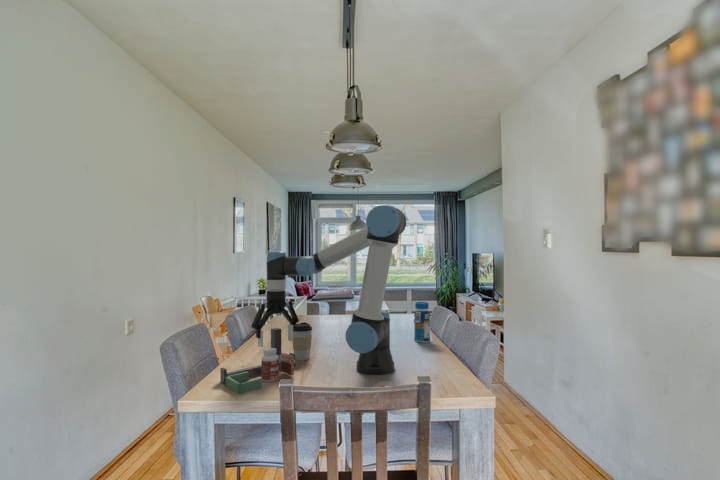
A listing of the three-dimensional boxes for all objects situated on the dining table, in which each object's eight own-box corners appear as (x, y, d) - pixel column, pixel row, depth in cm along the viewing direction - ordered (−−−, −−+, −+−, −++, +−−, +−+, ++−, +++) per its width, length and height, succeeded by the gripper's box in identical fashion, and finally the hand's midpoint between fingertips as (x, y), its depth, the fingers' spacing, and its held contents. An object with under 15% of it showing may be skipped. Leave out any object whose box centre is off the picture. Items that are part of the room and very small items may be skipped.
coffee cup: (308, 361, 166) (308, 326, 166) (288, 360, 168) (288, 325, 168) (314, 355, 175) (314, 322, 175) (295, 354, 176) (295, 321, 177)
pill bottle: (272, 383, 139) (272, 352, 139) (257, 381, 141) (257, 350, 142) (281, 377, 145) (281, 348, 145) (267, 375, 147) (267, 346, 147)
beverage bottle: (412, 339, 205) (411, 301, 205) (427, 338, 206) (427, 301, 206) (416, 343, 196) (416, 303, 197) (432, 342, 197) (432, 303, 198)
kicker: (299, 373, 148) (299, 332, 148) (285, 377, 144) (285, 334, 144) (280, 365, 158) (280, 327, 158) (267, 369, 154) (267, 329, 154)
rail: (295, 366, 159) (295, 354, 159) (223, 384, 139) (223, 369, 139) (291, 364, 161) (291, 352, 161) (220, 381, 141) (220, 368, 141)
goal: (261, 387, 135) (261, 378, 135) (238, 393, 129) (238, 384, 129) (247, 379, 143) (247, 371, 143) (224, 385, 137) (225, 376, 137)
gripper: (297, 287, 166) (297, 336, 166) (242, 291, 149) (242, 346, 149) (307, 288, 161) (307, 339, 160) (251, 293, 144) (251, 350, 144)
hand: (275, 343), depth 155 cm, fingers open, 13 cm apart
